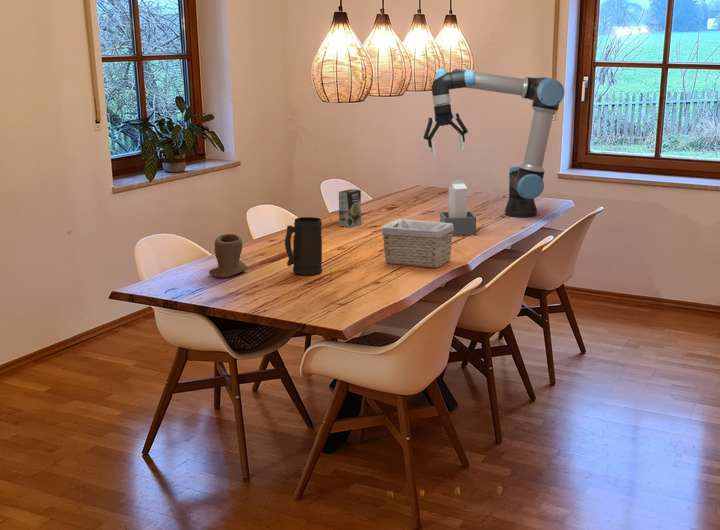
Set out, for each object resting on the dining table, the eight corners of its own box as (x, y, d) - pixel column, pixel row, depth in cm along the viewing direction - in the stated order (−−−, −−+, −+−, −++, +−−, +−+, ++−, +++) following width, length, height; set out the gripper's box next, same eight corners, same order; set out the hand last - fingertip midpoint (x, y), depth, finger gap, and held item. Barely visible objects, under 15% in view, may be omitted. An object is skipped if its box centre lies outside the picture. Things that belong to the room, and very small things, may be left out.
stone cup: (228, 281, 305) (226, 240, 301) (204, 277, 311) (201, 236, 307) (257, 271, 316) (254, 232, 313) (233, 267, 323) (230, 228, 319)
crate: (470, 228, 380) (470, 211, 378) (476, 235, 367) (476, 217, 364) (440, 229, 379) (440, 212, 377) (444, 236, 366) (444, 218, 364)
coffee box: (349, 228, 387) (349, 192, 383) (338, 226, 391) (337, 191, 386) (362, 224, 394) (361, 189, 390) (351, 222, 398) (350, 188, 393)
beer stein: (308, 266, 322) (306, 214, 317) (329, 271, 315) (327, 217, 310) (279, 275, 311) (276, 221, 306) (300, 280, 304) (298, 225, 299)
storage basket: (380, 263, 325) (379, 225, 321) (398, 254, 338) (398, 217, 335) (438, 270, 314) (438, 231, 310) (455, 260, 328) (455, 222, 324)
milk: (448, 229, 374) (448, 179, 369) (460, 228, 376) (460, 178, 371) (454, 232, 369) (454, 181, 363) (467, 231, 371) (467, 180, 365)
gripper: (466, 100, 386) (471, 147, 390) (413, 108, 381) (419, 155, 386) (471, 100, 378) (476, 148, 383) (417, 108, 374) (423, 156, 379)
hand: (447, 152), depth 384 cm, fingers open, 13 cm apart
